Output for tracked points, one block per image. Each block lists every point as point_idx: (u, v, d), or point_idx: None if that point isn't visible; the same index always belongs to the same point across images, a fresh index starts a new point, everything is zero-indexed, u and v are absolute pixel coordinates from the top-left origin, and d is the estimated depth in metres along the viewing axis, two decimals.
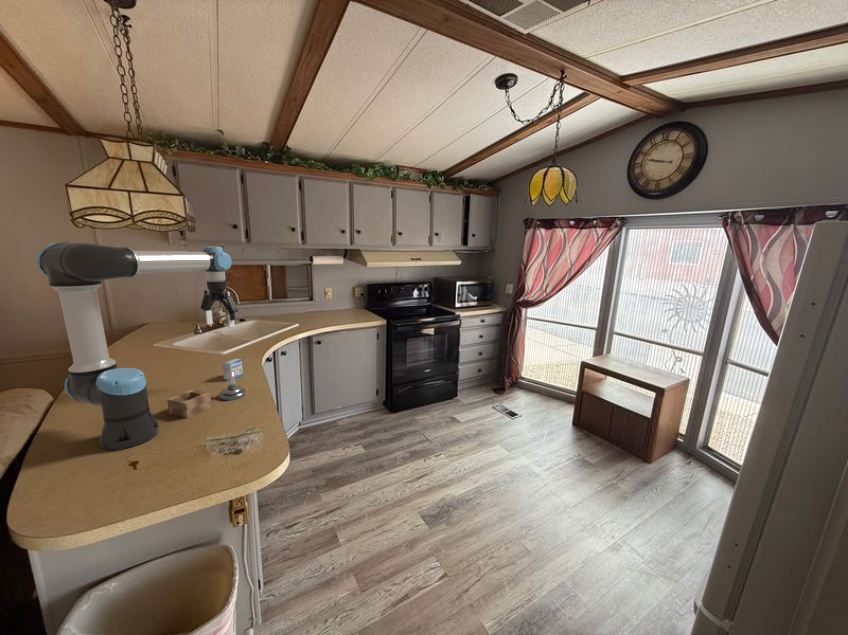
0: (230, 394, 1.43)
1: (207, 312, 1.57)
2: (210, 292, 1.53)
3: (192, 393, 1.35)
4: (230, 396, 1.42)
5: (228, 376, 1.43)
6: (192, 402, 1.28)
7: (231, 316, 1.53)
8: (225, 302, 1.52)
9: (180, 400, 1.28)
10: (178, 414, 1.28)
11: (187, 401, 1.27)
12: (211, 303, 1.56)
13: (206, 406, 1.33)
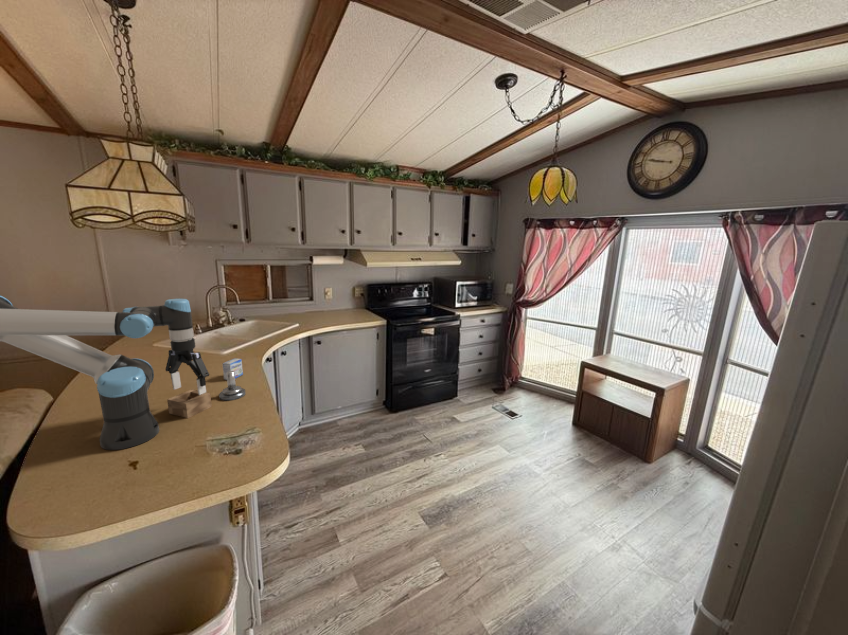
0: (230, 394, 1.43)
1: (173, 375, 1.31)
2: (176, 353, 1.28)
3: (192, 393, 1.35)
4: (230, 396, 1.42)
5: (228, 376, 1.43)
6: (192, 402, 1.28)
7: (201, 381, 1.27)
8: (193, 365, 1.27)
9: (180, 400, 1.28)
10: (178, 414, 1.28)
11: (187, 401, 1.27)
12: (178, 364, 1.30)
13: (206, 406, 1.33)
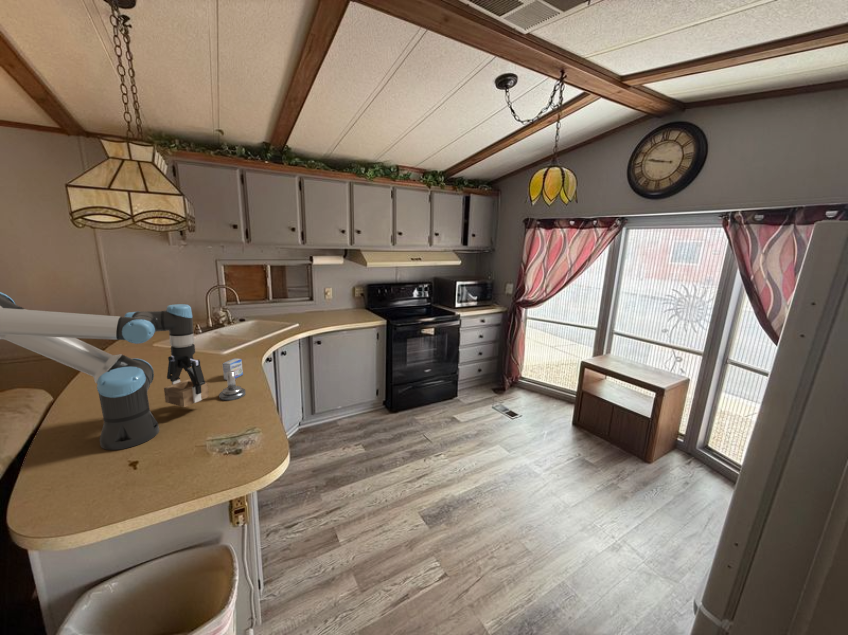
0: (230, 394, 1.43)
1: (175, 383, 1.31)
2: (175, 358, 1.28)
3: (189, 382, 1.34)
4: (230, 396, 1.42)
5: (228, 376, 1.43)
6: (189, 391, 1.26)
7: (197, 389, 1.28)
8: (191, 372, 1.27)
9: (177, 389, 1.26)
10: (174, 403, 1.26)
11: (184, 390, 1.26)
12: (178, 371, 1.30)
13: (203, 396, 1.32)
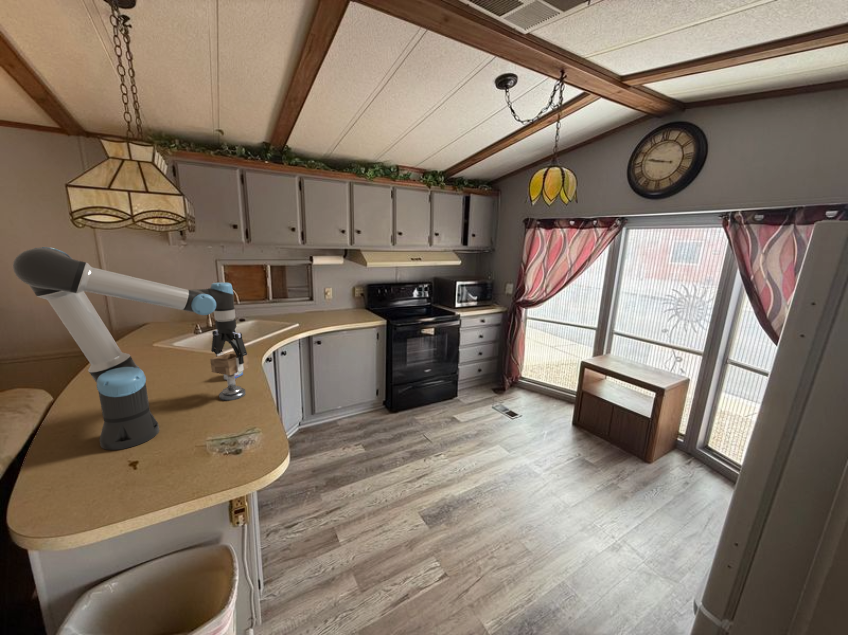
0: (230, 394, 1.43)
1: (219, 355, 1.44)
2: (219, 332, 1.40)
3: (231, 355, 1.46)
4: (230, 396, 1.42)
5: (228, 376, 1.43)
6: (233, 361, 1.39)
7: (240, 360, 1.40)
8: (234, 344, 1.40)
9: (222, 359, 1.39)
10: (220, 372, 1.39)
11: (229, 360, 1.38)
12: (222, 344, 1.43)
13: (245, 366, 1.45)
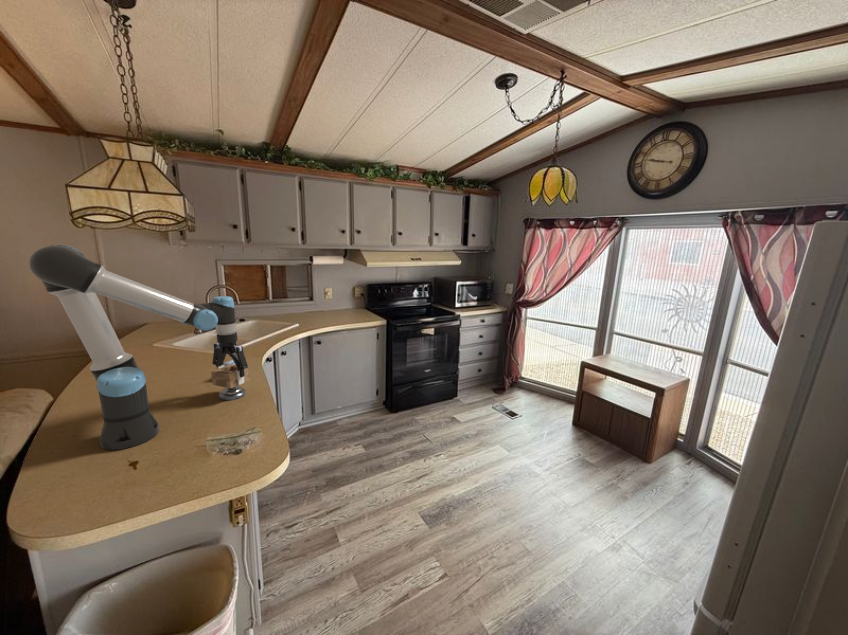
0: (230, 394, 1.43)
1: None
2: (220, 345, 1.42)
3: (232, 367, 1.47)
4: (230, 396, 1.42)
5: None
6: (234, 374, 1.40)
7: (241, 373, 1.42)
8: (235, 357, 1.41)
9: (223, 372, 1.40)
10: (221, 385, 1.40)
11: (230, 373, 1.39)
12: (223, 357, 1.44)
13: (245, 379, 1.46)
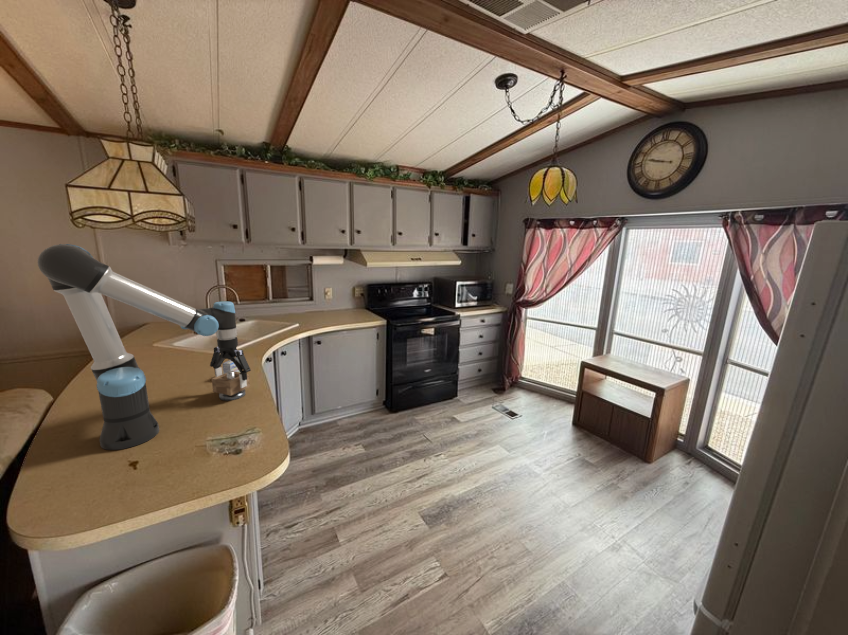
0: None
1: (217, 370, 1.45)
2: (220, 350, 1.42)
3: None
4: (230, 396, 1.42)
5: (228, 376, 1.43)
6: (234, 381, 1.41)
7: (243, 376, 1.41)
8: (237, 361, 1.41)
9: (224, 379, 1.41)
10: (222, 392, 1.41)
11: (230, 380, 1.40)
12: (221, 361, 1.44)
13: (245, 386, 1.47)
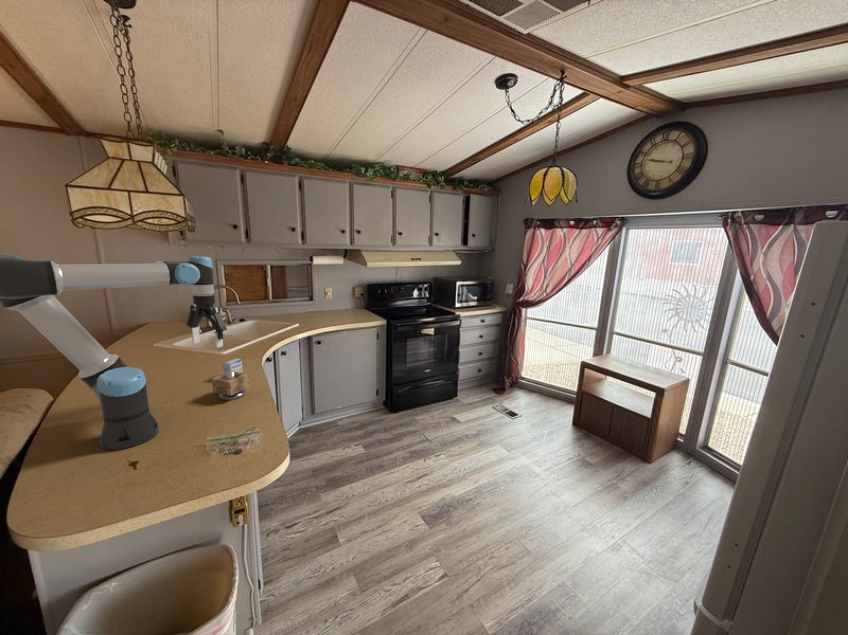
0: None
1: (193, 329, 1.40)
2: (197, 307, 1.37)
3: None
4: (230, 396, 1.42)
5: (228, 376, 1.43)
6: (234, 381, 1.41)
7: (219, 335, 1.35)
8: (213, 319, 1.35)
9: (224, 379, 1.41)
10: (222, 392, 1.41)
11: (230, 380, 1.40)
12: (198, 319, 1.39)
13: (245, 386, 1.47)
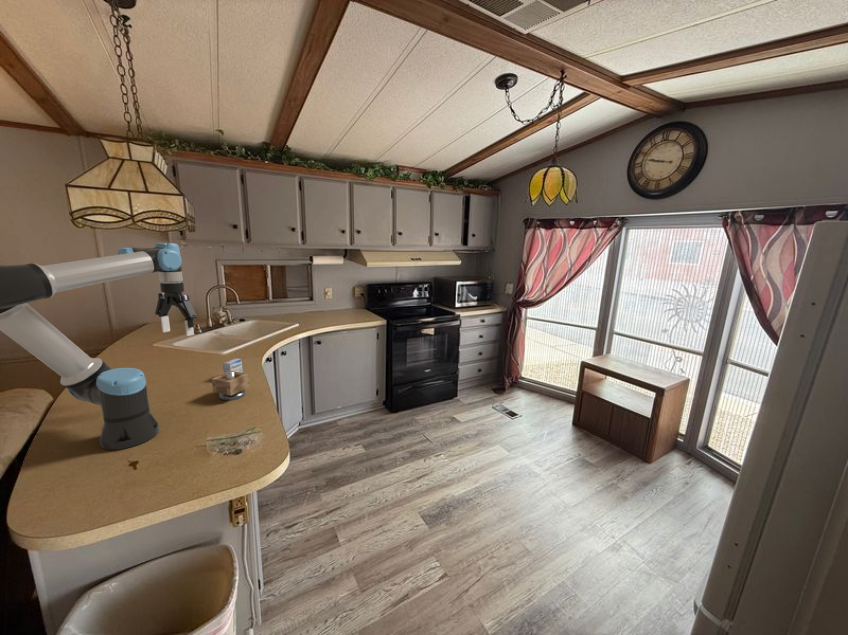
0: None
1: (163, 318, 1.37)
2: (165, 295, 1.34)
3: None
4: (230, 396, 1.42)
5: (228, 376, 1.43)
6: (234, 381, 1.41)
7: (189, 323, 1.33)
8: (182, 307, 1.33)
9: (224, 379, 1.41)
10: (222, 392, 1.41)
11: (230, 380, 1.40)
12: (167, 308, 1.36)
13: (245, 386, 1.47)
